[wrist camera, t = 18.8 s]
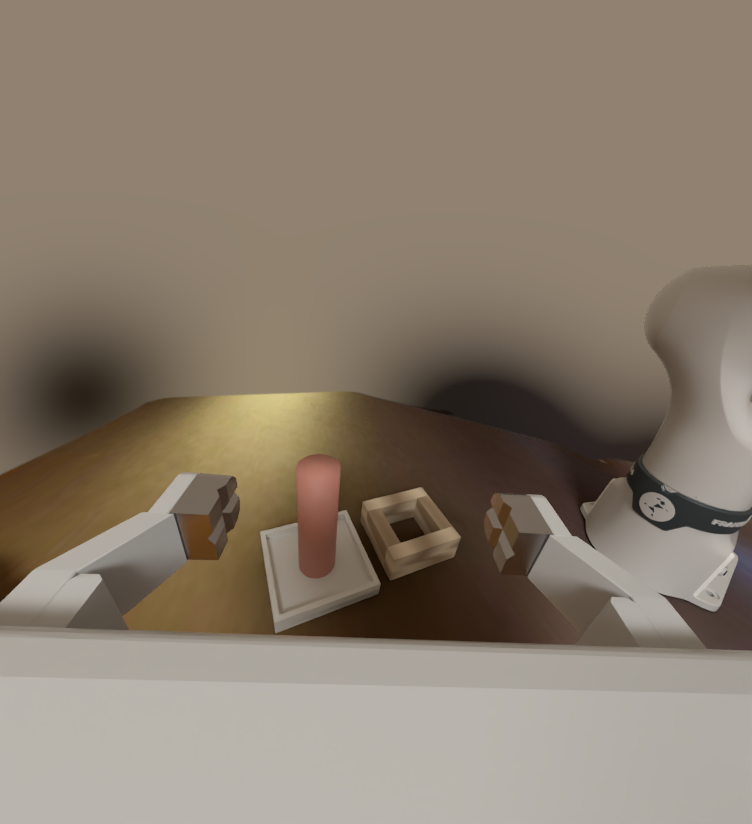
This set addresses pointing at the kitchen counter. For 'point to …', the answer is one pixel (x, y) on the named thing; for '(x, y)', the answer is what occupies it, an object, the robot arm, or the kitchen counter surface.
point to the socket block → (416, 551)
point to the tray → (315, 596)
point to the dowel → (317, 513)
